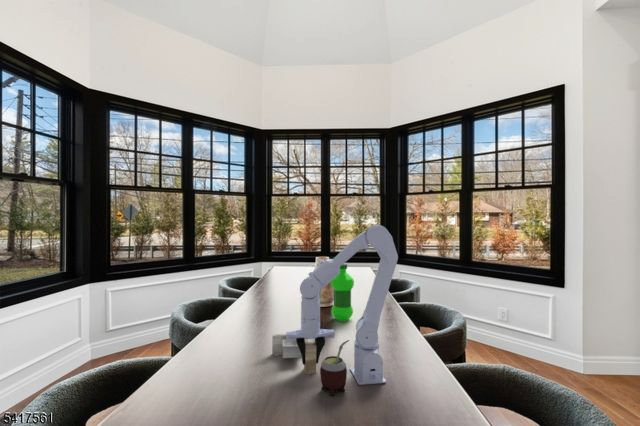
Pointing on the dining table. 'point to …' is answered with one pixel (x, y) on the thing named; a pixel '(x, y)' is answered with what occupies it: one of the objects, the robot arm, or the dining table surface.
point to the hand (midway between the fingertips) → (310, 362)
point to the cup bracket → (285, 346)
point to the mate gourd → (334, 373)
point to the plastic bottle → (342, 295)
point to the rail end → (310, 357)
